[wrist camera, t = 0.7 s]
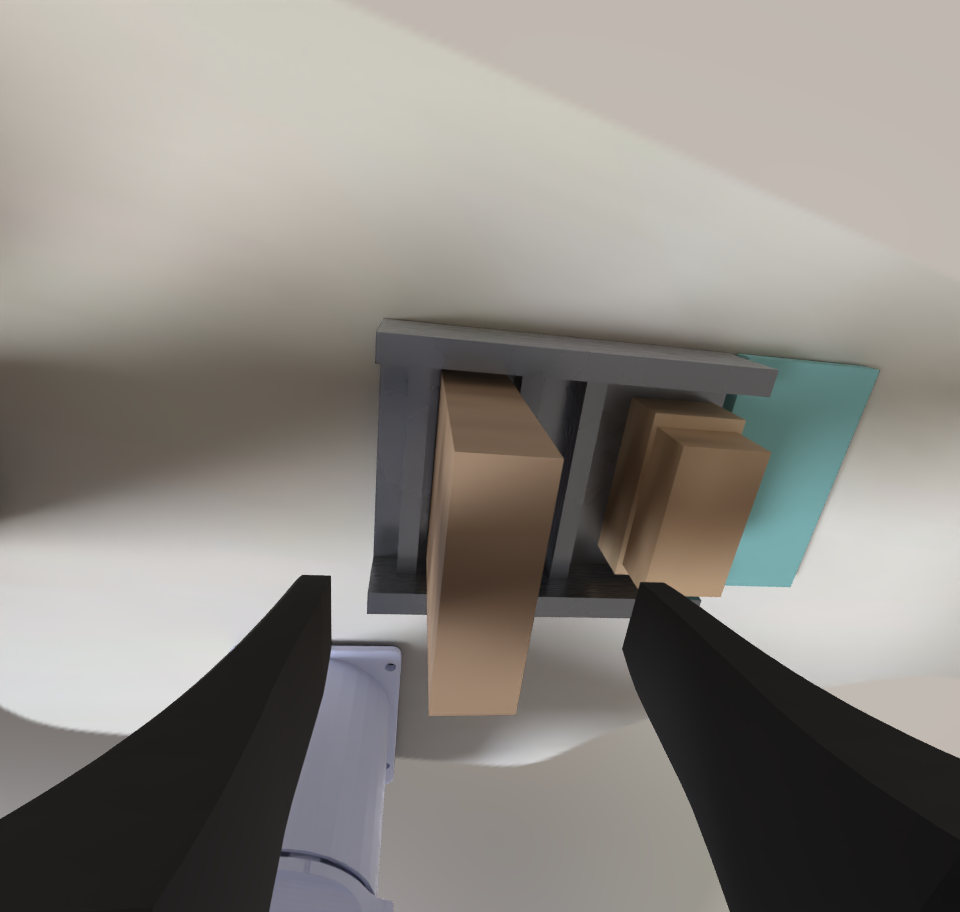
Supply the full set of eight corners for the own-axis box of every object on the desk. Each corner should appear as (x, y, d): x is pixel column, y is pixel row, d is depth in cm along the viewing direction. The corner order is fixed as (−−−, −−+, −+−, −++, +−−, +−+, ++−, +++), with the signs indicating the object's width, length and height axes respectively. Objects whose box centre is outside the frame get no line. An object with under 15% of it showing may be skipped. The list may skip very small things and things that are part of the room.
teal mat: (779, 577, 26) (790, 587, 25) (671, 574, 25) (678, 584, 24) (864, 366, 22) (880, 370, 21) (737, 353, 21) (749, 357, 20)
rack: (661, 573, 25) (694, 619, 22) (374, 565, 23) (367, 613, 20) (726, 352, 21) (779, 370, 18) (383, 318, 19) (376, 331, 16)
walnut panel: (482, 550, 22) (515, 714, 14) (426, 548, 22) (428, 716, 14) (505, 373, 19) (563, 458, 11) (441, 367, 19) (454, 451, 11)
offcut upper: (694, 566, 21) (720, 597, 19) (622, 564, 20) (641, 595, 19) (737, 432, 19) (771, 452, 17) (657, 426, 18) (683, 446, 16)
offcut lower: (671, 548, 23) (695, 576, 21) (597, 545, 23) (614, 574, 21) (714, 403, 21) (746, 420, 19) (632, 396, 20) (655, 413, 18)
